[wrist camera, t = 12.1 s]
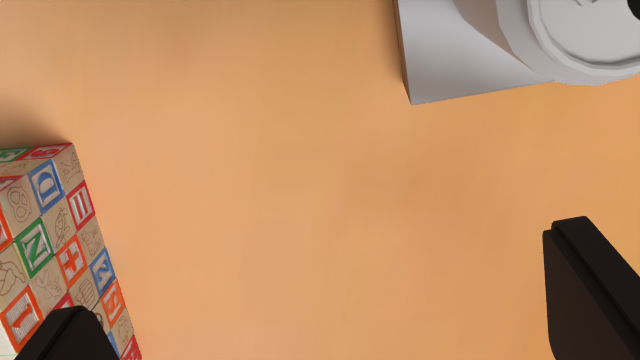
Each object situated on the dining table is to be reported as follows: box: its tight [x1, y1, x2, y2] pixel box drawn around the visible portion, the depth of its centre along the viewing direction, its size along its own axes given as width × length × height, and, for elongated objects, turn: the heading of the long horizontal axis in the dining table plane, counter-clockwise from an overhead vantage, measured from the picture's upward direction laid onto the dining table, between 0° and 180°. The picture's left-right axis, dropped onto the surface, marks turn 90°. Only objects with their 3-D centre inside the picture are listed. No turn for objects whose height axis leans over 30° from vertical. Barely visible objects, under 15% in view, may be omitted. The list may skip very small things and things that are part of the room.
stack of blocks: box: [0, 143, 142, 360], centre depth 37 cm, size 21×6×12 cm, turn 6°
